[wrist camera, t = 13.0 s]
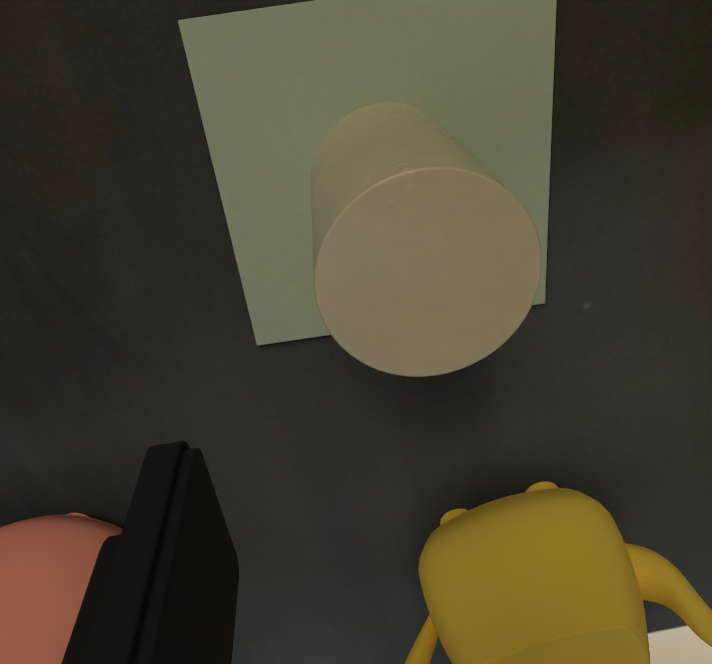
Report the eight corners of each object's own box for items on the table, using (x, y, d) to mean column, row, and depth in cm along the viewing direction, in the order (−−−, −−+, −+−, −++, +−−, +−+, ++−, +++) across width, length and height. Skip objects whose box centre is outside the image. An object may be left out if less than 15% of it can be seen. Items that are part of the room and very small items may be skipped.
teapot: (654, 420, 33) (789, 587, 24) (671, 545, 39) (787, 720, 30) (351, 518, 35) (369, 707, 26) (408, 624, 41) (439, 811, 32)
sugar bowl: (74, 454, 31) (-16, 636, 23) (246, 588, 38) (228, 772, 29) (-81, 555, 34) (-214, 753, 25) (103, 665, 41) (47, 854, 32)
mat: (178, 20, 22) (177, 20, 22) (556, -35, 22) (558, -35, 22) (257, 343, 29) (257, 345, 29) (543, 301, 29) (545, 303, 29)
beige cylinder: (298, 114, 24) (295, 186, 15) (458, 91, 24) (546, 149, 15) (323, 262, 27) (332, 391, 18) (463, 241, 27) (539, 361, 18)
